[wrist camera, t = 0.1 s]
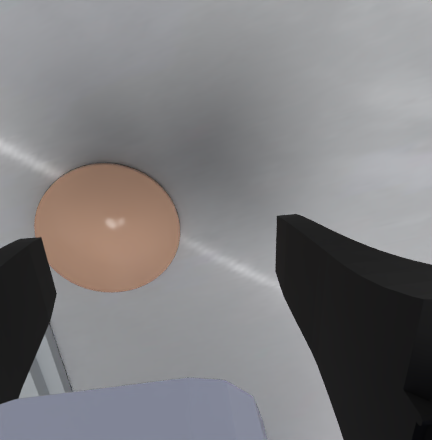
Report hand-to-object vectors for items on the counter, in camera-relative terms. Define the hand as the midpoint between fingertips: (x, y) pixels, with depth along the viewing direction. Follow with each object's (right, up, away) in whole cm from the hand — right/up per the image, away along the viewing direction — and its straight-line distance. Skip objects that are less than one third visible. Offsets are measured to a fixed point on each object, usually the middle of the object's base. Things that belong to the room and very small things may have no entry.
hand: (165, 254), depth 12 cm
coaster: (-5, +1, +10) cm, 11 cm away
